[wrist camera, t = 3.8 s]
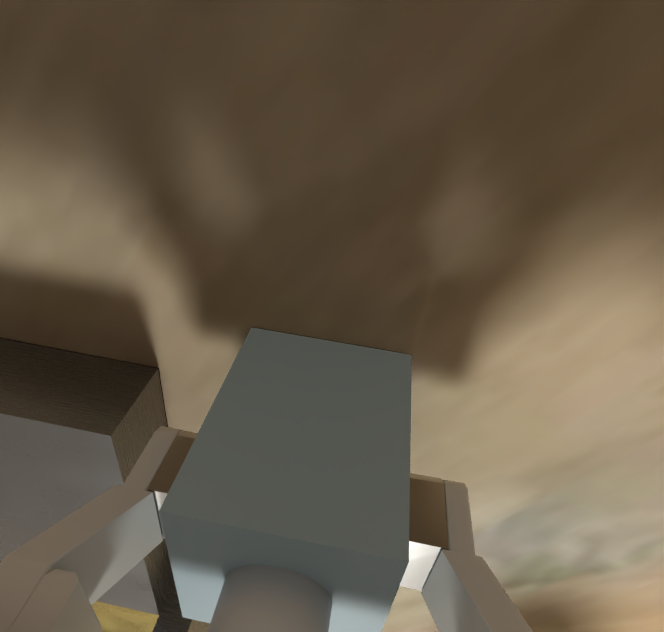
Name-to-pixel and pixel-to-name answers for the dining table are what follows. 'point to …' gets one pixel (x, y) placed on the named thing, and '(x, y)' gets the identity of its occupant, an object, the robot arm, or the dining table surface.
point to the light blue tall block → (296, 491)
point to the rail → (81, 463)
